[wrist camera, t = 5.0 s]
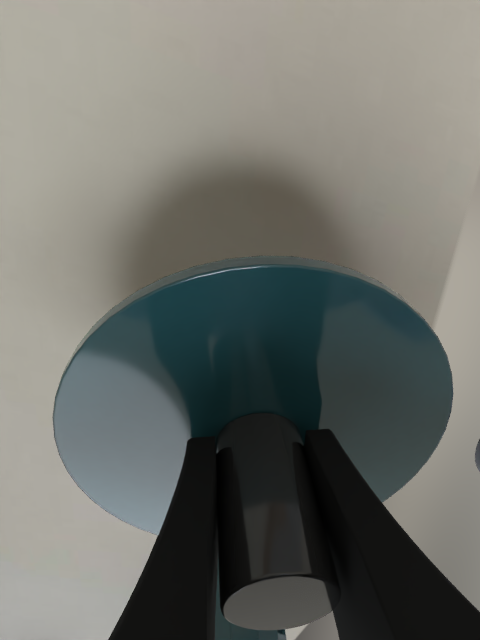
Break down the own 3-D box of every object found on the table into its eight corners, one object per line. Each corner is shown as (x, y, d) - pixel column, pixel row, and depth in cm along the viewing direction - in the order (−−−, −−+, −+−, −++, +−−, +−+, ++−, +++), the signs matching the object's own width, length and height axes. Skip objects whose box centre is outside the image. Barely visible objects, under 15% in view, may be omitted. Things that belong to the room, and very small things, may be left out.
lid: (485, 235, 10) (713, 381, 5) (393, 504, 15) (466, 675, 11) (11, 253, 9) (-164, 436, 5) (104, 527, 15) (65, 717, 11)
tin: (278, 547, 31) (292, 638, 27) (274, 605, 37) (285, 689, 32) (147, 558, 31) (137, 654, 26) (163, 615, 36) (157, 703, 31)
